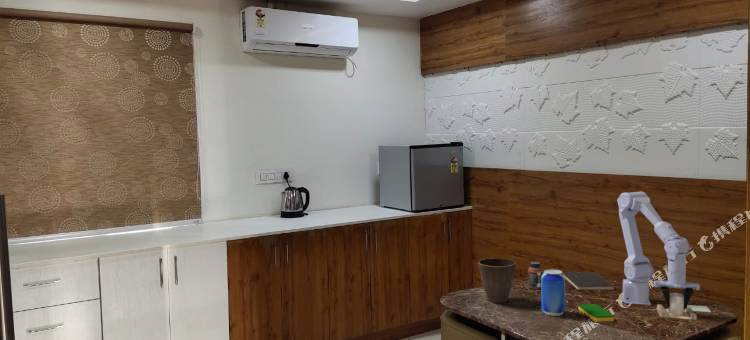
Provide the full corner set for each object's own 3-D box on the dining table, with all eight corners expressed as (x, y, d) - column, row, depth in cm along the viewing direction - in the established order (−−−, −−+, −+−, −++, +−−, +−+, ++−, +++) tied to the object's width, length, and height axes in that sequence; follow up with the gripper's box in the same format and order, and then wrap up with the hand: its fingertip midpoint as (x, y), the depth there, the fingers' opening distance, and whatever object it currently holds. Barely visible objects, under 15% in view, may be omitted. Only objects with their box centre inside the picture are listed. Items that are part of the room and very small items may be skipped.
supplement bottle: (543, 290, 231) (543, 264, 231) (529, 289, 232) (528, 264, 232) (541, 286, 237) (541, 261, 236) (527, 285, 238) (527, 260, 238)
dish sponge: (595, 309, 205) (596, 303, 205) (614, 322, 191) (614, 315, 191) (578, 310, 205) (578, 304, 204) (595, 323, 191) (595, 316, 191)
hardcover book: (577, 291, 231) (577, 285, 230) (562, 277, 253) (562, 272, 253) (615, 291, 229) (615, 285, 229) (596, 277, 252) (596, 272, 252)
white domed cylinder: (669, 315, 194) (670, 296, 194) (666, 309, 201) (666, 291, 200) (685, 316, 193) (685, 297, 192) (681, 310, 199) (681, 292, 198)
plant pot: (475, 304, 214) (475, 264, 213) (482, 293, 227) (482, 257, 227) (513, 307, 208) (513, 267, 207) (518, 297, 222) (517, 259, 221)
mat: (689, 311, 199) (689, 310, 199) (685, 306, 206) (685, 304, 206) (711, 313, 197) (711, 312, 197) (706, 307, 204) (706, 306, 204)
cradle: (660, 317, 193) (660, 312, 193) (655, 309, 203) (655, 304, 203) (697, 321, 189) (698, 315, 189) (691, 312, 199) (691, 307, 199)
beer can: (564, 310, 204) (564, 269, 203) (565, 317, 196) (565, 275, 195) (541, 308, 206) (541, 268, 205) (541, 315, 198) (541, 273, 197)
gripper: (656, 272, 194) (656, 308, 195) (702, 275, 189) (701, 312, 190) (653, 267, 200) (652, 303, 201) (697, 270, 195) (696, 306, 196)
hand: (676, 307), depth 196 cm, fingers closed on white domed cylinder, 5 cm apart
